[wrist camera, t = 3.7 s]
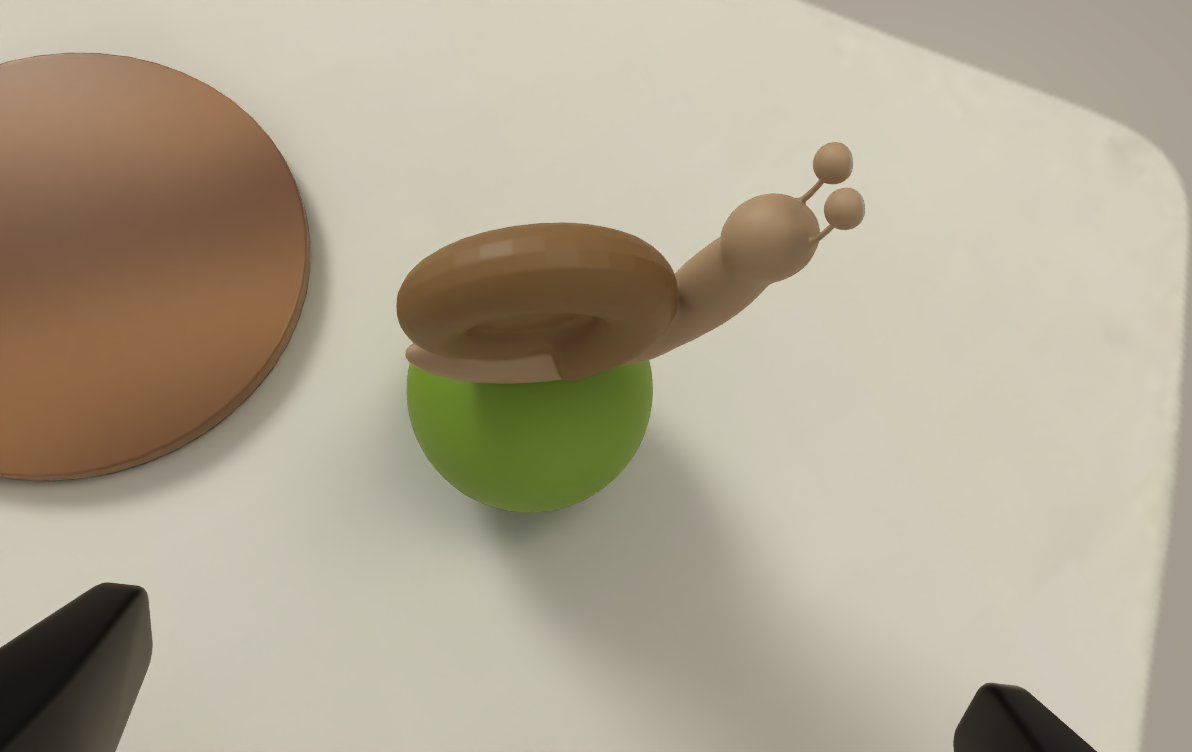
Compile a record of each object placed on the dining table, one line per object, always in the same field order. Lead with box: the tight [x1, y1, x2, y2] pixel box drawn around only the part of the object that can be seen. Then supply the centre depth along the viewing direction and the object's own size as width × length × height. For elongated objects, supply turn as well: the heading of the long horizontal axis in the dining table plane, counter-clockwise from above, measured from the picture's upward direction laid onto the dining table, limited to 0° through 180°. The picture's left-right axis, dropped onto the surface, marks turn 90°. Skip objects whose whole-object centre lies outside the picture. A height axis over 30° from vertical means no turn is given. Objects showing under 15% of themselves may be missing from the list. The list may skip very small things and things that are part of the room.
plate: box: [0, 53, 310, 481], centre depth 21 cm, size 11×11×1 cm
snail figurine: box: [397, 142, 865, 512], centre depth 16 cm, size 5×6×12 cm
